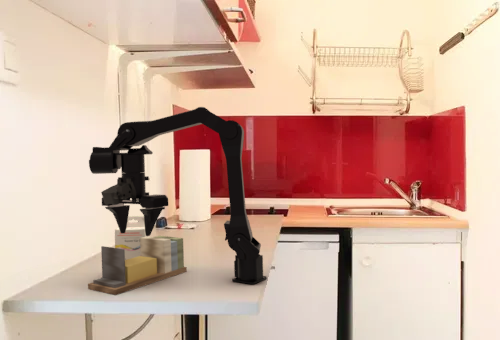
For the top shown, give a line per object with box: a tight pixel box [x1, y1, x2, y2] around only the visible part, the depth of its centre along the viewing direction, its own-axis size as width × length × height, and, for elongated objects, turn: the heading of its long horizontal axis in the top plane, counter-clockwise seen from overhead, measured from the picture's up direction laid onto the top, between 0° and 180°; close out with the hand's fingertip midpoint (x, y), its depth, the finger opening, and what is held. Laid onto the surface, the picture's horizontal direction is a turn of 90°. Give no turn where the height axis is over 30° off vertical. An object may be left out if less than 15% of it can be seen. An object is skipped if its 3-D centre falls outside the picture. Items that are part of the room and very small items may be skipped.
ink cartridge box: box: [114, 215, 149, 260], centre depth 125 cm, size 9×5×15 cm, turn 92°
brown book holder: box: [87, 235, 188, 296], centre depth 113 cm, size 10×24×10 cm, turn 146°
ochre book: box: [125, 256, 157, 283], centre depth 111 cm, size 6×10×4 cm, turn 149°
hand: (135, 234), depth 111 cm, fingers open, 9 cm apart
